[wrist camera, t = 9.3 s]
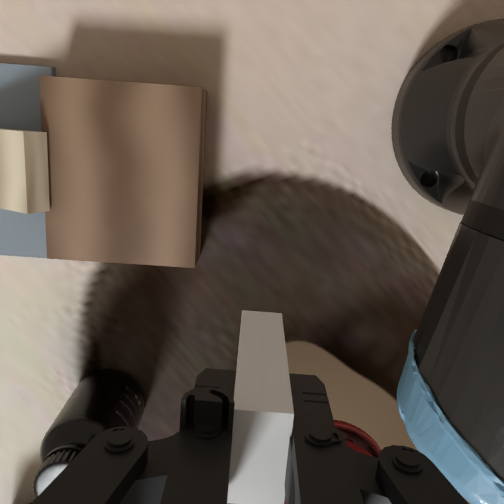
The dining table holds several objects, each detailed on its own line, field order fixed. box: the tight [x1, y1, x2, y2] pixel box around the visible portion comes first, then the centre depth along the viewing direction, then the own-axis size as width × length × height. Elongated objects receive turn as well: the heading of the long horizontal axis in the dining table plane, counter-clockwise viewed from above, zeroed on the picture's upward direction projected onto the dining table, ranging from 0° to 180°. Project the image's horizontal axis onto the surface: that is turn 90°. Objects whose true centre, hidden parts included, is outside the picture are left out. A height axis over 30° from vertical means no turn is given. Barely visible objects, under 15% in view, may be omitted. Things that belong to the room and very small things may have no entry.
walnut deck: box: [39, 75, 207, 268], centre depth 38 cm, size 12×14×4 cm
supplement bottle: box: [33, 369, 145, 497], centre depth 40 cm, size 7×7×12 cm
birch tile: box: [0, 128, 50, 214], centre depth 37 cm, size 8×6×2 cm
